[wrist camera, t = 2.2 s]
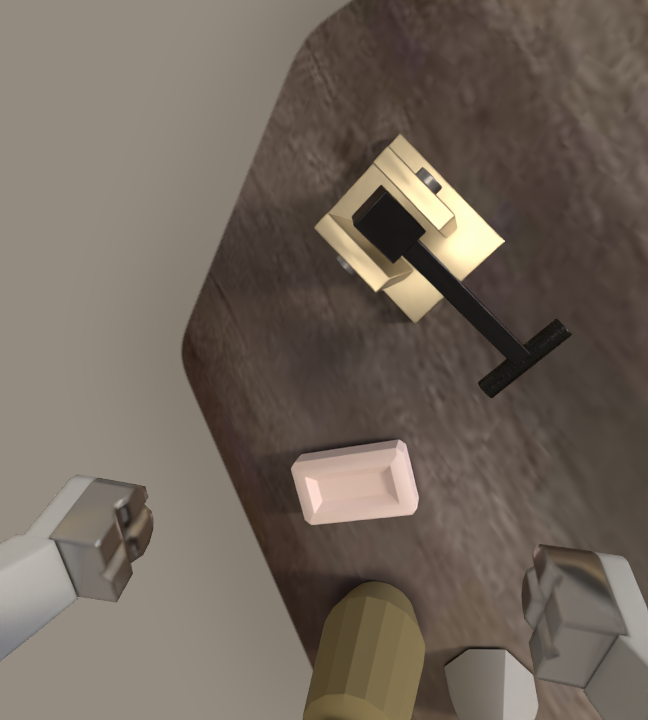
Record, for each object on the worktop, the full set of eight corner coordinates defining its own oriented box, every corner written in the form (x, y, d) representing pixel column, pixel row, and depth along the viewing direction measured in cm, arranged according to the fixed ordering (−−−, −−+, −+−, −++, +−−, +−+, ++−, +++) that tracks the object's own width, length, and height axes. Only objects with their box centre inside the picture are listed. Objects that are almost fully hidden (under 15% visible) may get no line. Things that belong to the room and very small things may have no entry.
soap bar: (420, 500, 39) (417, 516, 37) (313, 512, 42) (305, 527, 39) (405, 437, 38) (401, 448, 36) (297, 453, 41) (287, 465, 39)
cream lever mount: (503, 241, 33) (527, 235, 21) (416, 322, 36) (393, 356, 24) (402, 136, 34) (368, 72, 22) (323, 223, 36) (254, 209, 24)
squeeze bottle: (412, 667, 42) (379, 945, 25) (324, 628, 44) (237, 866, 27) (441, 590, 40) (426, 839, 23) (347, 553, 42) (268, 760, 25)
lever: (561, 325, 28) (580, 342, 26) (485, 386, 30) (497, 407, 28) (405, 158, 24) (412, 161, 22) (329, 239, 26) (328, 250, 24)
